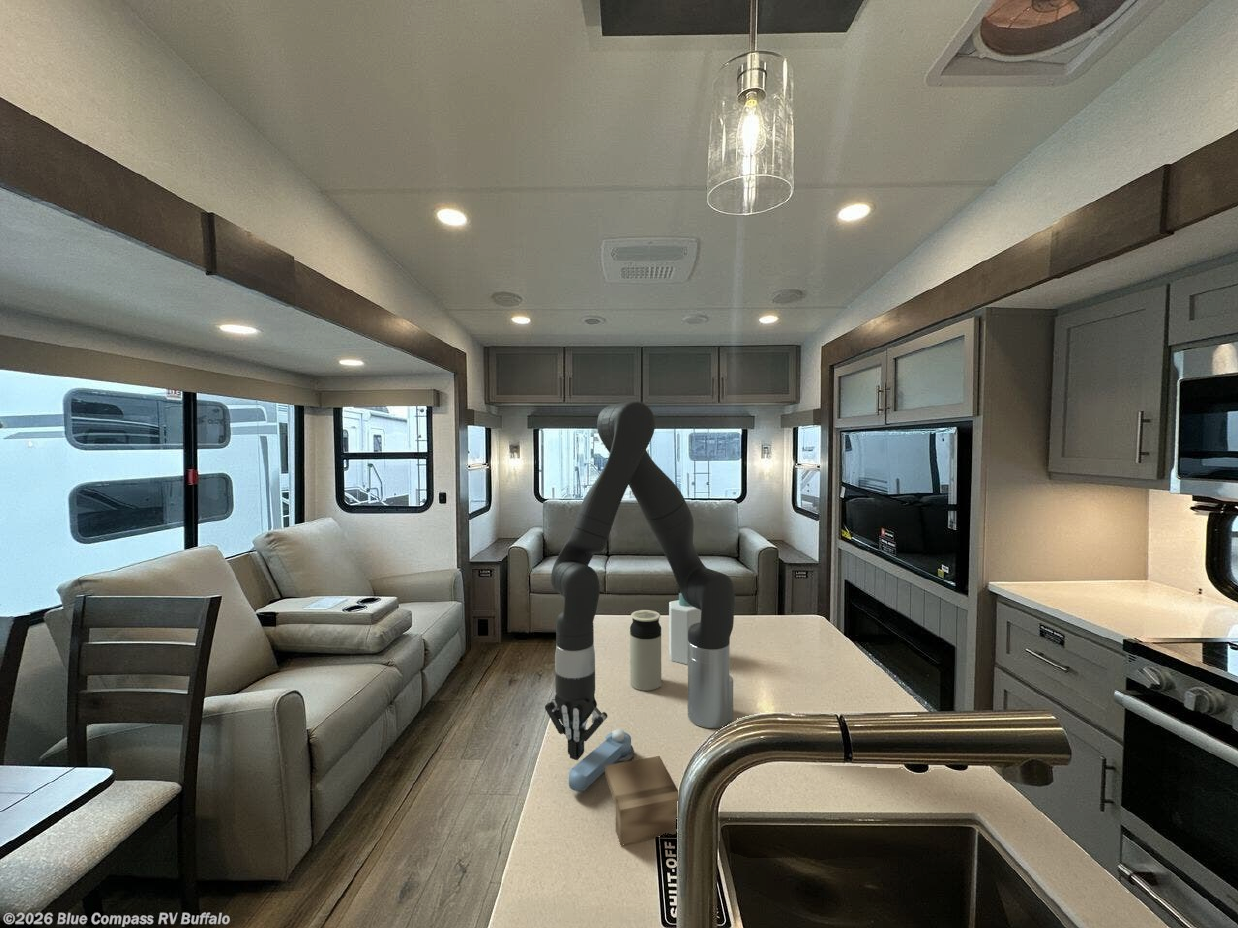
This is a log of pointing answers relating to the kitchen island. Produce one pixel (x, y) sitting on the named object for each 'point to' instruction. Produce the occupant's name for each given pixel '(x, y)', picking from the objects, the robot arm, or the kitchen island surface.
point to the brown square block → (642, 799)
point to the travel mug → (645, 650)
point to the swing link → (599, 760)
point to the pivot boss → (626, 757)
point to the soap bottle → (681, 628)
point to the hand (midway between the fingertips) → (575, 756)
